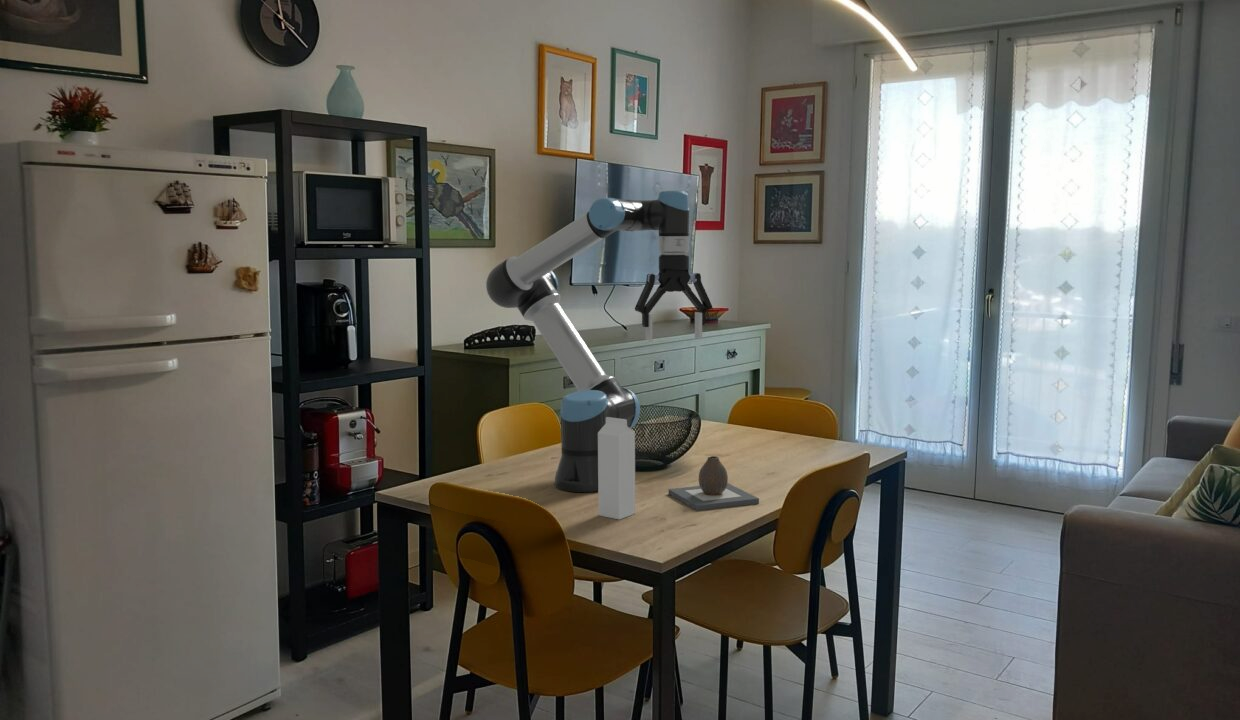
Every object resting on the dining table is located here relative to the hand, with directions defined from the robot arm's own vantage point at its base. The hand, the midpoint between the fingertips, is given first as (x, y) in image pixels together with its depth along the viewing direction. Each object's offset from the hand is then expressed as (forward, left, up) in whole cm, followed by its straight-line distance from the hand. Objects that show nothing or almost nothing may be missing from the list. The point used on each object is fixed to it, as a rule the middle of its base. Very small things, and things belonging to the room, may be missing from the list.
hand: (673, 339), depth 236 cm
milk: (-24, -22, -37) cm, 49 cm away
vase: (+2, -18, -36) cm, 40 cm away
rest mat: (+2, -18, -37) cm, 41 cm away
